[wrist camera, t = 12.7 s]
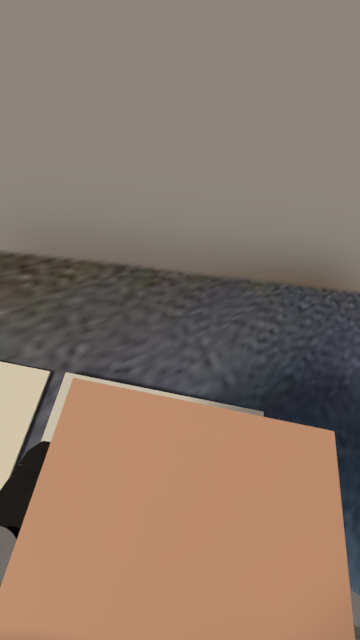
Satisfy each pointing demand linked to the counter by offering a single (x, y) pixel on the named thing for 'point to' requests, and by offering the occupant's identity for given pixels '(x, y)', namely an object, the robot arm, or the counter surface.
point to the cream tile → (17, 410)
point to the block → (179, 527)
